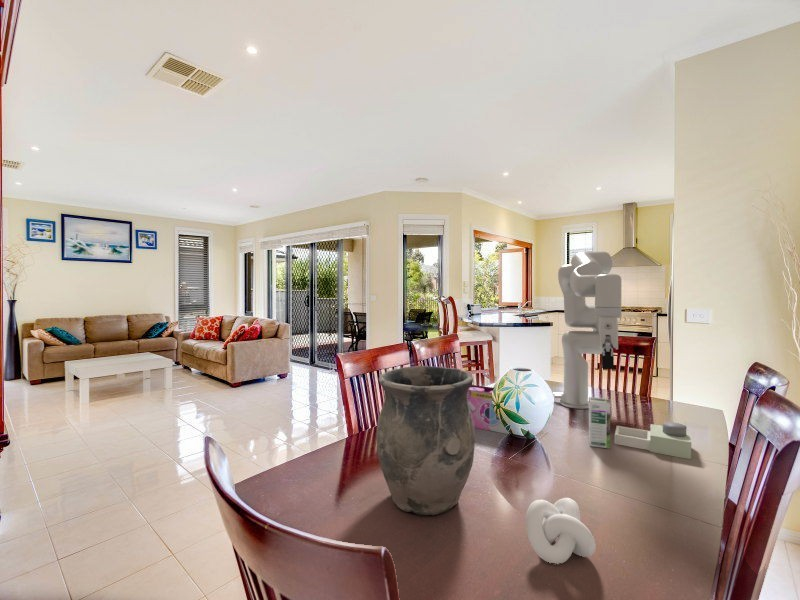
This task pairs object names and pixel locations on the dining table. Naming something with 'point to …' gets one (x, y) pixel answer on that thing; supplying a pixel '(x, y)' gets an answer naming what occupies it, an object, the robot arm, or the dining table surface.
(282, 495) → the dining table surface
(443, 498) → the clay pot
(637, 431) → the knob block with frame
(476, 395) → the pink product box
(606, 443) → the syrup box
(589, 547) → the white knot sculpture
